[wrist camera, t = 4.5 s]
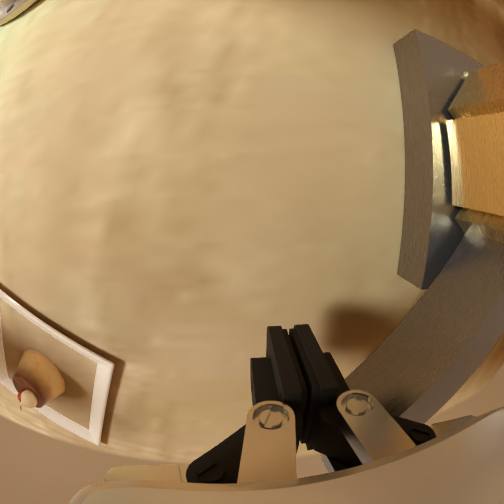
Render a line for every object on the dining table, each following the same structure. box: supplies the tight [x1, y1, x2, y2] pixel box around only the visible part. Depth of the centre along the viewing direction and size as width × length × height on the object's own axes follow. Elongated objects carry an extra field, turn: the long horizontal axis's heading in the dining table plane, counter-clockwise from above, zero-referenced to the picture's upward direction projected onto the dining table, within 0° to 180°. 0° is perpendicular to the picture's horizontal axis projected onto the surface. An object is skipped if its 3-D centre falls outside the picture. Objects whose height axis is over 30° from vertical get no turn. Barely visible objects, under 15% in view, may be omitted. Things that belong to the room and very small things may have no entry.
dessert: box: [0, 289, 115, 446], centre depth 13 cm, size 12×12×5 cm
